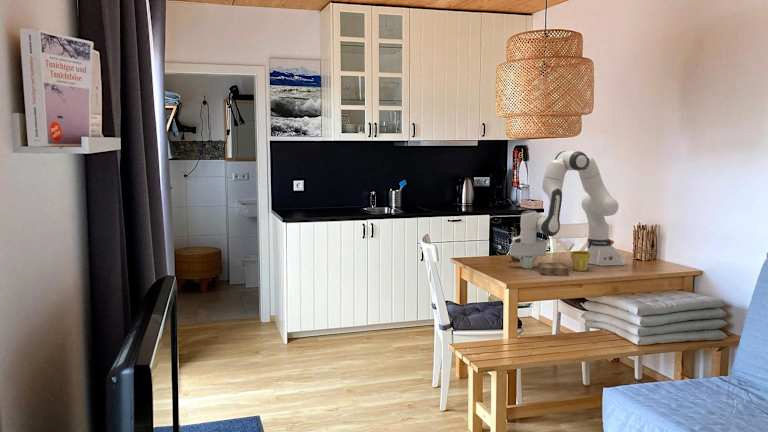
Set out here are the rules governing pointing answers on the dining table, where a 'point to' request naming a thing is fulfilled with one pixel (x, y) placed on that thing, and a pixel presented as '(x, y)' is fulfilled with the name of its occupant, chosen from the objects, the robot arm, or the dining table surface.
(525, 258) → the sage block
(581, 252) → the plant pot
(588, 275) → the dining table surface
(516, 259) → the food container
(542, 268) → the walnut base
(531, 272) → the dining table surface
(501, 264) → the dining table surface
